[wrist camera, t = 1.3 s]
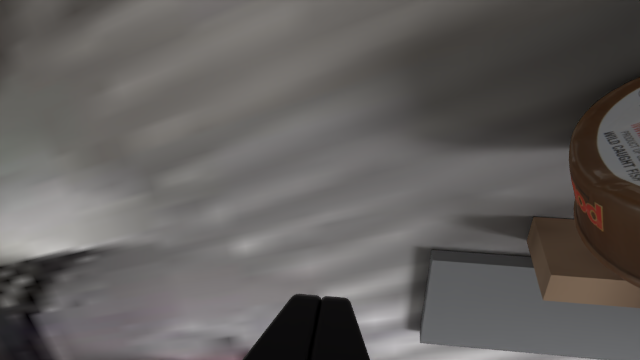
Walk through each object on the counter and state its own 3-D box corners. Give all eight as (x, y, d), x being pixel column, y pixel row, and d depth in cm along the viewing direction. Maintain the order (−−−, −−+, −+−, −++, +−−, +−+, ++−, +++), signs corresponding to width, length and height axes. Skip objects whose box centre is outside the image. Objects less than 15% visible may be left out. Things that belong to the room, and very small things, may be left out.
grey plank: (874, 282, 20) (886, 294, 20) (805, 366, 23) (814, 378, 22) (431, 249, 22) (432, 260, 21) (419, 332, 25) (420, 343, 24)
